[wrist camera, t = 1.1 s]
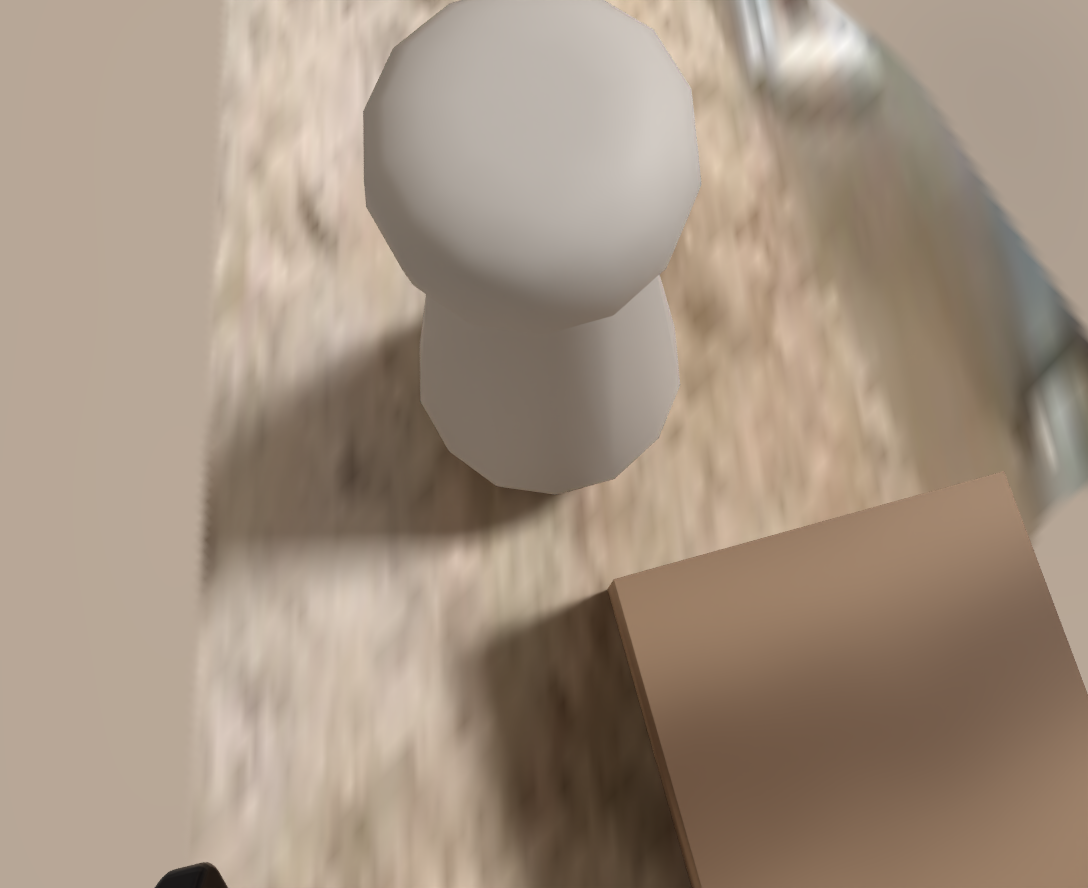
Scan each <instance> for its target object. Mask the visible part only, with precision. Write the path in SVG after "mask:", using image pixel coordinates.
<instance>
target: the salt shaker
mask: <svg viewBox="0 0 1088 888" xmlns="http://www.w3.org/2000/svg"><path fill="white" fill-rule="evenodd" d="M363 123H364V186H365V197H366V207H367V209H368V211H369V212H370V214H371V216H372V218H373V219H374V221H375V223H376V224H377V226H378V228H379V230H380V231H381V233H382V235H383V237H384V238H385V240H386V242H387V244H388V245H389V247H390V249H391V251H392V252H393V254H394V256H395V258H396V259H397V261H398V263H399V265H400V266H401V268H402V270H403V271H404V273H405V274H406V275H407V277H408V278H409V280H410V281H411V283H412V284H413V285H414V286H415V287H417V288H418V289H420V290H421V291H422V292H424V293H425V294H426V298H425V306H424V314H423V322H422V330H421V338H420V402H421V403H422V405H423V407H424V409H425V410H426V412H427V414H428V416H429V417H430V419H431V421H432V423H433V424H434V426H435V428H436V430H437V431H438V433H439V435H440V436H441V438H442V440H443V442H444V443H445V445H446V447H447V449H448V450H449V452H451V453H452V454H453V455H455V456H456V457H457V458H459V459H460V460H462V461H463V462H464V463H466V464H467V465H468V466H470V467H471V468H472V469H474V470H475V471H476V472H478V473H479V474H481V475H482V476H483V477H485V478H486V479H487V480H489V481H490V482H491V483H493V484H494V485H495V486H498V487H505V488H513V489H520V490H527V491H534V492H541V493H548V494H555V495H557V494H561V493H565V492H568V491H572V490H576V489H579V488H583V487H587V486H590V485H594V484H598V483H601V482H605V481H609V480H612V479H615V478H616V477H617V476H618V475H619V474H620V473H621V472H622V471H623V470H625V469H626V468H627V467H628V466H629V465H630V464H631V463H632V462H633V461H634V460H635V459H636V458H638V457H639V456H640V455H641V454H642V453H643V452H644V451H645V450H646V449H647V448H648V447H649V446H651V445H652V444H653V443H654V442H655V441H656V440H657V439H658V438H659V436H660V433H661V431H662V428H663V426H664V423H665V421H666V418H667V416H668V414H669V411H670V409H671V406H672V404H673V401H674V399H675V396H676V394H677V392H678V389H679V387H680V378H679V367H678V356H677V345H676V335H675V327H674V323H673V320H672V316H671V313H670V309H669V306H668V302H667V299H666V295H665V292H664V288H663V285H662V281H661V278H660V273H662V272H663V271H664V270H665V269H666V268H667V265H668V263H669V261H670V258H671V256H672V253H673V251H674V249H675V246H676V244H677V242H678V239H679V237H680V235H681V232H682V230H683V228H684V225H685V223H686V221H687V218H688V216H689V213H690V211H691V209H692V206H693V204H694V201H695V199H696V196H697V194H698V191H699V189H700V186H701V176H700V165H699V155H698V146H697V137H696V128H695V118H694V109H693V100H692V91H691V87H690V86H689V84H688V83H687V81H686V80H685V78H684V76H683V75H682V73H681V72H680V70H679V68H678V67H677V65H676V64H675V62H674V61H673V59H672V57H671V56H670V54H669V53H668V51H667V50H666V48H665V46H664V45H663V43H662V42H661V40H660V39H659V37H658V35H657V34H656V32H655V31H654V29H652V28H650V27H649V26H647V25H645V24H643V23H642V22H640V21H638V20H637V19H635V18H633V17H632V16H630V15H628V14H626V13H625V12H623V11H621V10H620V9H618V8H616V7H615V6H613V5H611V4H609V3H608V2H606V1H604V0H460V1H457V2H453V3H450V4H448V5H447V6H446V7H445V8H443V9H442V10H441V11H439V12H438V13H437V14H436V15H434V16H433V17H432V18H431V19H429V20H428V21H427V22H426V23H424V24H423V25H422V26H420V27H419V28H418V29H417V30H415V31H414V32H413V33H412V34H410V35H409V36H408V37H407V38H405V39H404V40H403V41H402V42H400V43H399V44H398V45H396V46H395V47H394V48H393V49H392V52H391V54H390V56H389V58H388V60H387V62H386V64H385V66H384V69H383V71H382V73H381V75H380V77H379V79H378V81H377V83H376V86H375V88H374V90H373V92H372V94H371V96H370V98H369V100H368V103H367V105H366V107H365V109H364V111H363Z"/></svg>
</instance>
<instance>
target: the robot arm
mask: <svg viewBox="0 0 1088 888" xmlns="http://www.w3.org/2000/svg"><path fill="white" fill-rule="evenodd" d="M155 888H228V887H227V885H226V883H225V882H224V880H223V878H222V876H221V875H220V873H219V871H218V870H217V868H216V867H215V866H214V865H212V864H211V863H209V862H206V863H205V862H203V863H199V864H195V865H191V866H187V867H182V868H178V869H175V870H172V871H170V872H168V873H167V874H166V875H165V876H164V877H162V879H161V880H160V881H159V882H158V884H157V885H156V887H155Z"/></svg>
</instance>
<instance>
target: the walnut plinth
mask: <svg viewBox="0 0 1088 888" xmlns="http://www.w3.org/2000/svg"><path fill="white" fill-rule="evenodd" d="M607 590H608V593H609V597H610V600H611V604H612V607H613V611H614V614H615V618H616V621H617V625H618V629H619V632H620V636H621V639H622V643H623V646H624V650H625V653H626V657H627V660H628V664H629V667H630V671H631V674H632V678H633V681H634V685H635V689H636V692H637V696H638V699H639V703H640V706H641V710H642V713H643V717H644V720H645V724H646V727H647V731H648V734H649V738H650V741H651V745H652V749H653V752H654V756H655V759H656V763H657V766H658V770H659V773H660V777H661V780H662V784H663V787H664V791H665V794H666V798H667V801H668V805H669V809H670V812H671V816H672V819H673V823H674V826H675V830H676V833H677V837H678V840H679V844H680V847H681V851H682V854H683V858H684V861H685V865H686V869H687V872H688V876H689V879H690V883H691V886H692V888H1088V694H1087V691H1086V689H1085V686H1084V683H1083V681H1082V678H1081V676H1080V673H1079V670H1078V667H1077V664H1076V662H1075V659H1074V656H1073V654H1072V651H1071V649H1070V646H1069V643H1068V641H1067V638H1066V635H1065V633H1064V630H1063V627H1062V625H1061V622H1060V619H1059V617H1058V614H1057V611H1056V609H1055V606H1054V603H1053V601H1052V598H1051V595H1050V593H1049V590H1048V587H1047V585H1046V582H1045V579H1044V577H1043V574H1042V571H1041V569H1040V566H1039V563H1038V561H1037V558H1036V555H1035V553H1034V550H1033V547H1032V545H1031V542H1030V539H1029V537H1028V534H1027V531H1026V529H1025V526H1024V523H1023V521H1022V518H1021V515H1020V513H1019V510H1018V507H1017V505H1016V502H1015V499H1014V497H1013V494H1012V491H1011V489H1010V486H1009V483H1008V481H1007V478H1006V475H1005V473H1004V471H1003V472H999V473H995V474H992V475H988V476H985V477H981V478H977V479H974V480H970V481H967V482H963V483H959V484H956V485H952V486H949V487H945V488H941V489H938V490H934V491H931V492H927V493H923V494H920V495H916V496H913V497H909V498H905V499H902V500H898V501H895V502H891V503H887V504H884V505H880V506H876V507H873V508H869V509H866V510H862V511H858V512H855V513H851V514H848V515H844V516H840V517H837V518H833V519H830V520H826V521H822V522H819V523H815V524H812V525H808V526H804V527H801V528H797V529H794V530H790V531H786V532H783V533H779V534H776V535H772V536H768V537H765V538H761V539H758V540H754V541H750V542H747V543H743V544H740V545H736V546H732V547H729V548H725V549H721V550H718V551H714V552H711V553H707V554H703V555H700V556H696V557H693V558H689V559H685V560H682V561H678V562H675V563H671V564H667V565H664V566H660V567H657V568H653V569H649V570H646V571H642V572H639V573H635V574H631V575H628V576H624V577H621V578H617V579H614V580H613V582H612V583H611V585H610V586H609V588H608V589H607Z"/></svg>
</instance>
